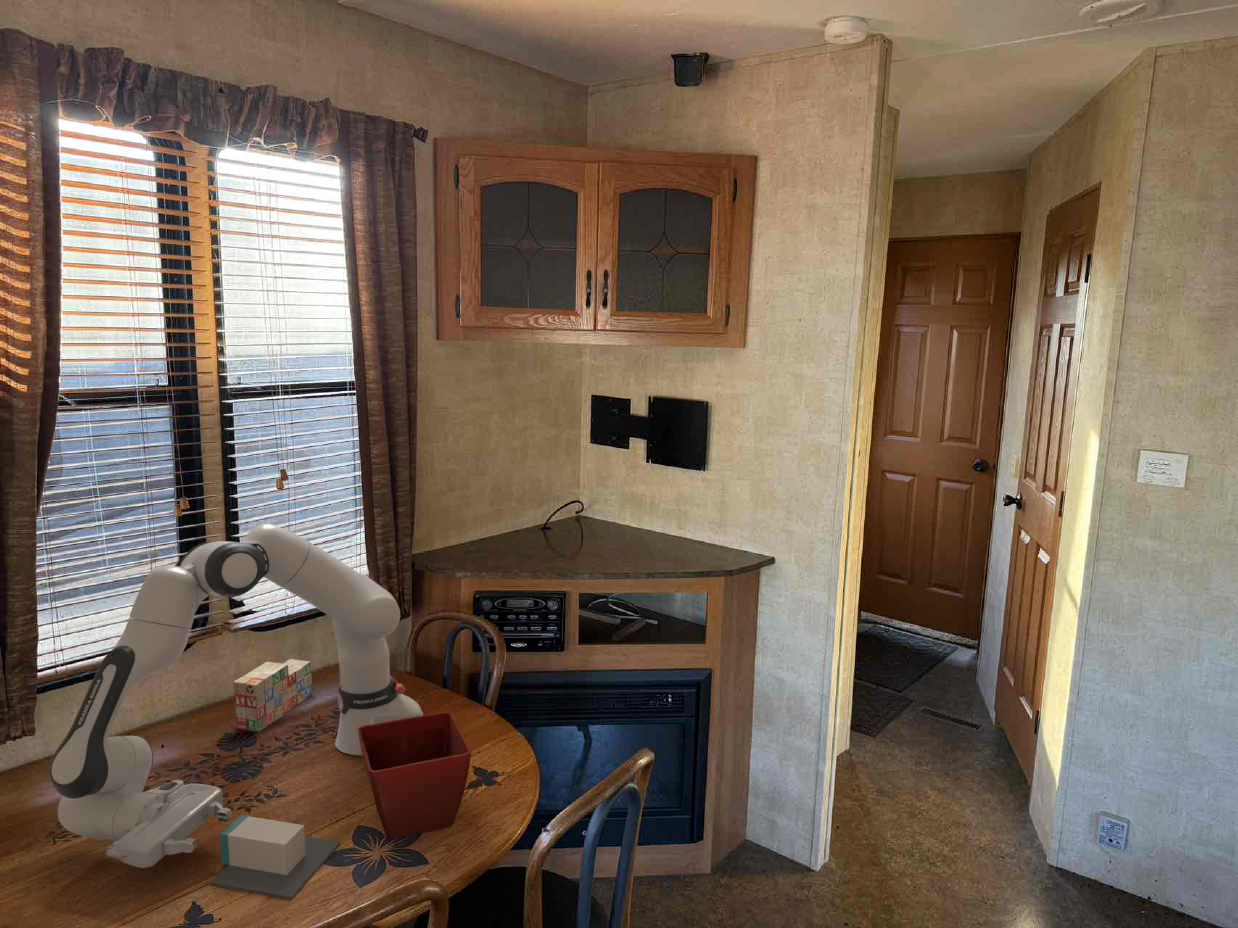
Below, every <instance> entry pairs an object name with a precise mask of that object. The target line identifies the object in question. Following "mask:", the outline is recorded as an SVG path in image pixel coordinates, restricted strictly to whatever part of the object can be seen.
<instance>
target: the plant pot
mask: <svg viewBox="0 0 1238 928" xmlns="http://www.w3.org/2000/svg"><path fill="white" fill-rule="evenodd" d="M358 734H359V740H360V745H361V750H362V754H363V755H362V757H363V762H364V765H365V770H366V775H367V778H368V780H369V785H370V787H371V791H372V796H373V799H374V804H375V807H376V810H377V814H378V817H379V820H380V823H381V826H382V828H383V831H384V834H385V837H386V838H387V840H397V839H402V838H406V837H410V836H414V835H415V836H417V835H420V834H423V833H428V832H433V831H437V830H443V829H446V828H451V827H452V826H453V825H454V823H455V820H456V818H457V815H458V812H459V810H460V806H461V803H462V801H463V797H464V793H465V790H466V786H467V782H468V776H469V771H470V764H471V757H472V749H471V747H470V746H469V744H468V742H467V740H466V738H465V737H464V734H463V732H462V731H461V729H460V727H459V725H458V723H457V721H456V717H454V714H453V713H452V712H450V711H443V712H436V713H430V714H423V716H417V717H411V718H405V719H400V720H394V721H389V722H383V723H377V724H371V725H365V726H361V727H359V728H358Z"/></svg>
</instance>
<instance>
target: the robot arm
mask: <svg viewBox="0 0 1238 928" xmlns="http://www.w3.org/2000/svg"><path fill="white" fill-rule="evenodd" d="M263 578H265V579H267V580H269V581H270V582H272V583H273V584H275V585H276V586H279V587H280V588H282V589H283V590H285V591H287V592H289V593H290V594H293V595H294V596H296V597H298V598H299V599H302V600H303V601H305V602H307V603H309V604H310V605H311V606H313V607H314V608H316V609H317V610H319V611H321V612H323V614H326V616H328V617H330V618H331V619H332V626H333V627H332V628H333V631H334V635H335V640H336V645H337V650H338V651H337V652H338V660H339V661H338V663H339V665H338V666H339V680H340V681H339V682H340V683H339V685H338V693H337V697H338V698H337V700H338V701H337V703H338V709H339V711H340V712H339V721H338V722H339V724H338V730H337V735H336V739H335V741H334V742H335V743H334V744H335V748H336V749H337V750H339V751H340V752H342V753H344V754H347V755H353V756H363V754H362V750H361V745H360V740H359V734H358V728H359V727H361V726H365V725H371V724H377V723H383V722H389V721H394V720H400V719H405V718H411V717H417V716H423V715H424V713H423V711H422V708H421V706H420V705H419V703H418V702H417V701H415V700H414V699H413V698H411V697H409V696H407V695H405V694H404V693H405V692H406V687H405V686H404V685H403V684H402V683H399V681H398V680H397V679H395V678H393V677H392V676H391V674H390V673H391V671H390V670H391V669H390V649H389V646H388V643H387V640H386V637H387V636H389V635H391V634H392V633H393V632H394V631H395V629H396V628H397V627H398V625H399V623H400V620H401V610H400V606H399V605H398V603H397V601H396V599H395V597H394V596H393V595H392V593H390V592H389V591H388V590H387V589H385V588H384V587H383V586H381V585H379V583H377V582H376V581H374V579H371V578H370V577H369V576H367V575H365V574H362V573H360V572H358V571H356V570H355V569H353V568H352V567H351V566H348V565H347V564H345V563H344V562H342V561H341V560H340V559H338V558H336V557H335V556H333V555H331V553H329V552H327V551H325V550H323V549H322V548H320V547H318V546H317V545H315V544H314V543H312V542H310V541H309V540H307V539H305V537H304V538H303V537H302V536H301V535H298V534H297V533H295V532H293V531H290V530H287V529H286V528H283V527H280V526H278V525H276V524H275V525H274V523H273V524H272V523H262V524H258V525H257V526H255V527H253V528H252V529H251V530H249V532H248V533H247V534H246V535H245V537H244V539H243V540H242V541H241V542H240V541H239V542H237V541H228V540H227V541H225V540H219V541H218V540H217V541H207V542H202V543H199V544H197V545H195V546H194V547H192V548H191V549H190V550H188V551H187V552H186V553H185V554H184V556H183V557H182V558H181V559H179V561H177V563H176V564H175V565H164V566H159V567H156V568H154V569H152V571H150V572H149V573H148V574H147V576H146V577H145V580H144V581H143V583H142V585H141V587H140V589H139V591H138V594H137V596H136V598H135V600H134V603H133V605H132V608H131V611H130V614H129V616H128V620H127V624H126V626H125V628H124V630H123V632H122V634H121V636H120V638H119V640H118V641H117V643H116V644H115V645H114V647H113V648H112V649H111V650H110V651H109V652H108V653H107V654H106V655H105V656H104V658H103V659H102V661H101V663H100V664H99V666H98V668H97V669H96V672H95V674H94V676H93V678H92V680H91V683H90V685H89V687H88V689H87V691H86V693H85V695H84V698H83V701H82V703H81V704H80V707H79V709H78V711H77V713H76V716H75V719H74V721H73V723H72V725H71V727H70V729H69V731H68V733H67V734H66V736H65V737H64V739H63V740H62V742H61V743H60V744H59V746H58V747H57V748H56V750H55V752H54V754H53V755H52V759H51V760H50V764H49V772H48V773H49V778H50V781H51V784H52V786H53V788H54V790H56V792H58V794H60V796H61V798H60V800H59V803H58V807H57V817H58V821H59V822H60V825H61V826H62V827H63V828H65V830H67V831H69V832H71V833H73V834H75V835H78V836H81V837H86V838H90V839H94V840H113V841H114V842H112V843H111V844H110V845H108V847H107V851H106V855H107V857H109V858H112V859H119V860H120V862H122V863H124V864H127V865H130V866H132V867H135V868H139V869H146V868H151V867H153V866H155V865H156V864H157V863H158V862H159V861H160V860H162V859H163V858H164V857H165V856H166V855H168V856H170V855H171V856H172V855H176V854H180V853H188V854H191V853H192V852H193V851H195V849H196V848H197V847H198V844H197V839H195V838H191V837H188V836H190V835H192V833H193V832H194V831H195V830H197V829H198V828H199V827H201V826H202V825H203V823H205V822H206V821H208V819H210V818H211V817H216V816H217V818H218V819H217V820H218V822H227V821H228V820H229V819H231V818H232V813H233V812H232V810H231V808H228V807H227V808H226V807H223V806H224V796H223V795H224V793H223V790H222V789H221V788H220V787H218V786H215V785H210V784H205V783H204V784H203V783H197V782H196V783H187V784H184V781H183V780H179V779H174V780H172V781H169V782H167V783H165V784H163V785H160V786H158V787H155V788H152V789H148V790H145V788H146V787H147V783H148V781H149V778H150V774H151V770H152V767H153V764H154V753H153V749H152V747H151V745H150V743H149V742H148V741H147V740H146V739H145V738H144V737H142V736H139V735H114V736H109V734H110V732H111V730H112V726H113V725H114V723H115V721H116V718H117V715H118V713H119V710H120V708H121V706H122V704H123V701H124V699H125V697H126V695H127V694H128V692H129V691H130V689H132V688H133V687H134V686H135V685H136V684H137V683H139V682H141V681H142V680H143V679H146V678H147V677H149V676H151V675H153V674H156V673H159V672H162V670H165V669H167V668H168V667H170V666H172V665H173V664H175V663H176V662H177V661H178V660H179V659H180V657H181V656H182V654H183V652H184V650H185V648H186V647H187V644H188V641H189V638H190V633H191V630H192V627H193V623H194V618H195V614H196V612H197V610H198V609H199V607H200V605H201V603H202V602H203V601H204V600H205V599H206V598H208V597H209V596H214V597H227V598H229V597H230V598H234V597H239V596H242V595H244V594H246V593H248V592H250V591H251V590H252V589H254V587H256V585H257V584H258V583H260V581H261V580H262V579H263Z"/></svg>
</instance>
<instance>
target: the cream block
mask: <svg viewBox="0 0 1238 928" xmlns="http://www.w3.org/2000/svg"><path fill="white" fill-rule="evenodd" d="M305 836H306V834H305V825H304V824H298V823H291V822H287V821H279V820H273V819H267V818H260V817H255V816H250V815H244V814H241V815H239V817H237V818H236V820H234V821H233V822H232V823H231V824H230V825H229V826H228V827H226V828H225V829H224V830H223V831H222V832H221V833H220V848H221V861H222V864H221V865H226V866H227V865H232V866H237V867H243V868H249V869H254V870H260V871H266V872H271V873H277V874H283V875H287V874H288V873H289V872H290V871H291V870H292V869H293V868H294V867H295V866H296V865H297V864H298V863H299V861H300V860H301V859H302V858H303V857H304V856H305V855H306V850H305Z"/></svg>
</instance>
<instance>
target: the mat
mask: <svg viewBox="0 0 1238 928" xmlns="http://www.w3.org/2000/svg"><path fill="white" fill-rule="evenodd" d="M340 845H341V841H338V840H337V841H336V840H330V839H326V838H318V837H313V836H306V835H305V850H306V855H305V856H304V857H303V858H302V859H301V860H300V861H299V863H298V864H297V865H296V866H295V867H294V868H293V869H292V870H291V871H290V872H289V873H288V874H287V875H283V874H277V873H271V872H266V871H260V870H254V869H249V868H243V867H237V866H232V865H226V866H225V867H224V868H223V869H222V870H221V871H220V872H219V873H218V874H217V875H216V876H215V877H214V878H213V879H211V880H210V881H209V885H210V886H213V887H218V888H219V887H220V888H225V889H231V890H236V891H242V892H249V893H253V894H257V895H258V894H259V895H263V896H264V895H265V896H269V897H275V898H279V899H280V898H281V899H285V900H286V899H287V900H290V901H291V900H293V899H294V898H295V896H297V894H298V893H299V892H300V891H301V890H302V889H303V888H304V886H305V885H307V883H308V882H309V881H310V880H311V878H312V877H313V876H314V875H315V874H316V873H317V872H318V870H319V869H320V868H321V867H322V866H323V865H324V864H325V862H327V860H328V859H329V858H330V857H331V856H332V854H333V853H334V852H335V851H336V850H337V849H338V848H339V847H340Z"/></svg>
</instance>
